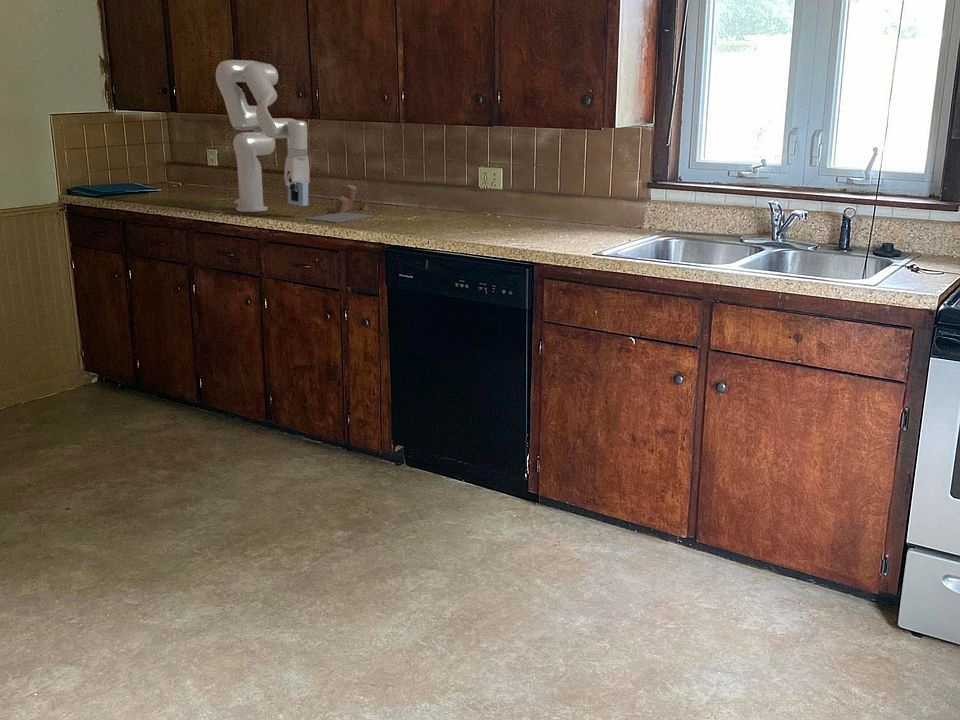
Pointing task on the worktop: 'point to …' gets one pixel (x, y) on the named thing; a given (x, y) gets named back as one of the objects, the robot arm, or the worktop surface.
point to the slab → (300, 194)
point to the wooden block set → (348, 200)
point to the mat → (339, 217)
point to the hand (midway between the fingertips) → (297, 199)
